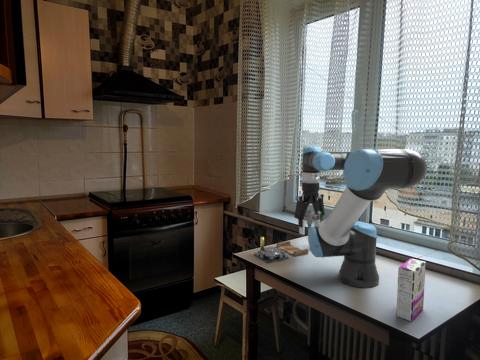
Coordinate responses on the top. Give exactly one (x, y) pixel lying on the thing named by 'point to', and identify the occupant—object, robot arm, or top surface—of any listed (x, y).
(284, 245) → the seat
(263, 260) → the base
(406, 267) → the candy bar box
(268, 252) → the grey metal machine part
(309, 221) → the mechanical component
